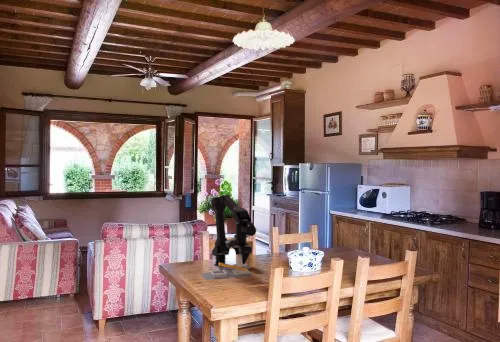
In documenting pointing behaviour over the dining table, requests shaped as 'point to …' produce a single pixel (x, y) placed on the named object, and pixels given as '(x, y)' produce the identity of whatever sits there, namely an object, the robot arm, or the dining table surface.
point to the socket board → (224, 274)
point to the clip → (233, 266)
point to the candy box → (250, 257)
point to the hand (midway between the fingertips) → (241, 262)
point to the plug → (240, 263)
